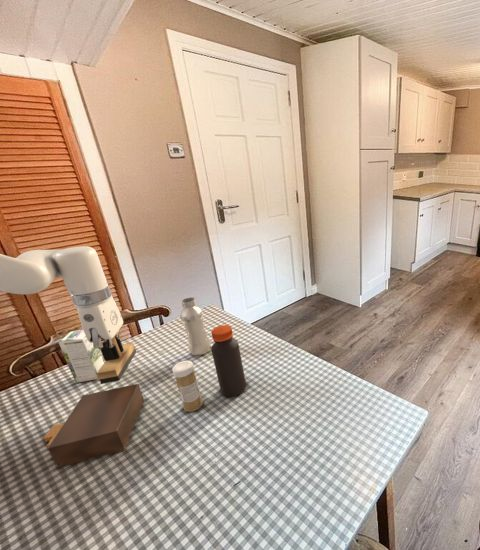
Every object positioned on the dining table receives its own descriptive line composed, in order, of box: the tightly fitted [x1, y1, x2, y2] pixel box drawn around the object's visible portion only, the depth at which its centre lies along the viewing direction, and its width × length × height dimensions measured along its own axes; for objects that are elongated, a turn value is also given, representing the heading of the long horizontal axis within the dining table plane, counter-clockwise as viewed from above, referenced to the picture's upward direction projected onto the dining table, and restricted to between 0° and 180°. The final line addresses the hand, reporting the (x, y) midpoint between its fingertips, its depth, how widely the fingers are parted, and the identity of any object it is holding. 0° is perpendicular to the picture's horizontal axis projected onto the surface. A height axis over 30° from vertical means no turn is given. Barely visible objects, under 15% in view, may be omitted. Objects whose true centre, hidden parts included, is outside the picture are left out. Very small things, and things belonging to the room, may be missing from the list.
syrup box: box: [58, 329, 105, 384], centre depth 90 cm, size 6×6×14 cm
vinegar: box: [210, 324, 247, 398], centre depth 84 cm, size 7×7×20 cm
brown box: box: [47, 383, 145, 469], centre depth 73 cm, size 13×16×6 cm
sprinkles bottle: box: [171, 360, 204, 413], centre depth 79 cm, size 5×5×14 cm
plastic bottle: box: [179, 297, 211, 356], centre depth 100 cm, size 6×7×20 cm
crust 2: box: [46, 431, 59, 449], centre depth 69 cm, size 4×4×1 cm
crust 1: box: [43, 422, 65, 443], centre depth 73 cm, size 4×4×1 cm
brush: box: [97, 336, 137, 385], centre depth 83 cm, size 13×4×10 cm, turn 19°
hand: (114, 355), depth 83 cm, fingers closed on brush, 2 cm apart
